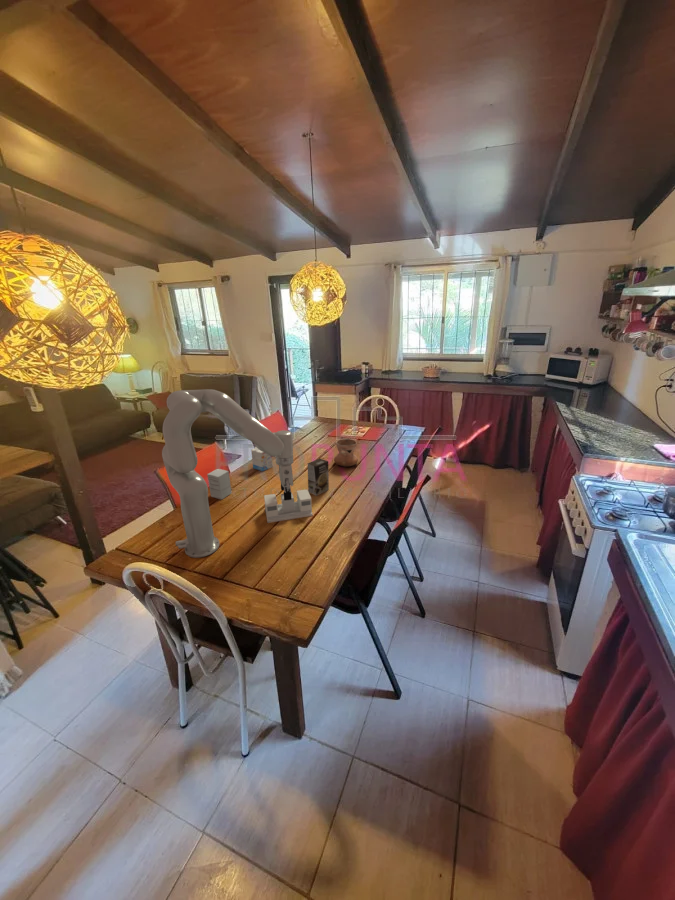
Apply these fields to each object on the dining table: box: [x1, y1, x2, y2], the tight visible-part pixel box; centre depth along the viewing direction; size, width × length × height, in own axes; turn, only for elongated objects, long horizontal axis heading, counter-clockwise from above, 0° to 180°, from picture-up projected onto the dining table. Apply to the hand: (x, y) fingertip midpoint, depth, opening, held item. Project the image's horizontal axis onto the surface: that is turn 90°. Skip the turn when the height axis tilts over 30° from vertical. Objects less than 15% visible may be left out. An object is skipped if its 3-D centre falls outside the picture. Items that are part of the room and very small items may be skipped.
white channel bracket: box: [263, 488, 313, 524], centre depth 156 cm, size 20×12×8 cm, turn 106°
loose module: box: [280, 492, 295, 513], centre depth 156 cm, size 5×5×7 cm
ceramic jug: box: [333, 438, 359, 467], centre depth 206 cm, size 18×14×14 cm
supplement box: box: [206, 468, 232, 500], centre depth 171 cm, size 7×7×13 cm
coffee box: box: [307, 458, 330, 496], centre depth 174 cm, size 9×6×16 cm
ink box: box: [251, 446, 274, 472], centre depth 202 cm, size 9×8×13 cm
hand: (286, 494), depth 154 cm, fingers open, 9 cm apart
